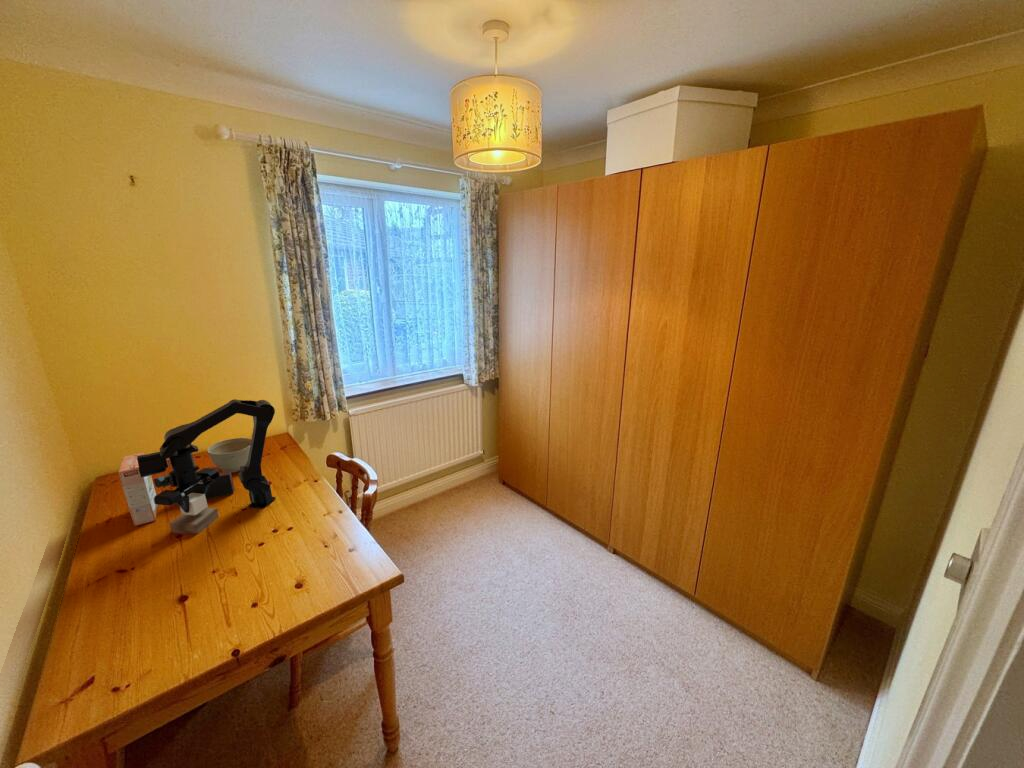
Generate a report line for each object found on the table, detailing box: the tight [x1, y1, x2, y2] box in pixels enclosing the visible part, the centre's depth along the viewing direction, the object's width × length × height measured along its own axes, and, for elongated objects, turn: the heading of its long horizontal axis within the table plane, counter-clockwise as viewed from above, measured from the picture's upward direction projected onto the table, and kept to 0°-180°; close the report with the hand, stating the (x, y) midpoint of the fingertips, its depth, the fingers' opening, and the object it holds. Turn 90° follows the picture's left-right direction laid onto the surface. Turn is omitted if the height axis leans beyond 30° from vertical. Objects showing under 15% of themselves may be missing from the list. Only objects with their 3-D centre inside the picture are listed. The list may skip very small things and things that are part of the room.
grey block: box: [169, 507, 220, 535], centre depth 135 cm, size 9×9×4 cm
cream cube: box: [179, 493, 209, 515], centre depth 133 cm, size 5×5×5 cm
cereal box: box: [118, 452, 159, 527], centre depth 138 cm, size 14×6×21 cm, turn 37°
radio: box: [175, 456, 236, 500], centre depth 149 cm, size 19×3×15 cm, turn 114°
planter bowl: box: [207, 437, 252, 474], centre depth 171 cm, size 16×16×11 cm
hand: (194, 507), depth 134 cm, fingers closed on cream cube, 5 cm apart
